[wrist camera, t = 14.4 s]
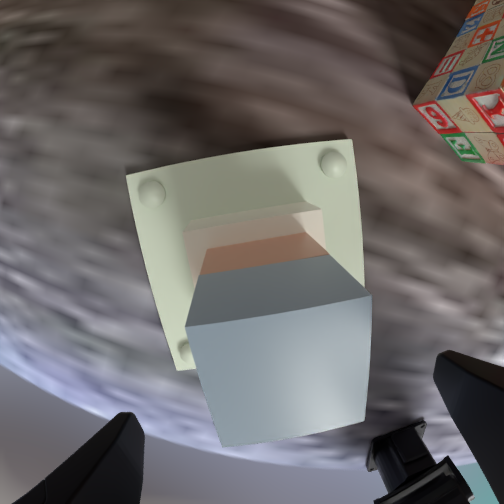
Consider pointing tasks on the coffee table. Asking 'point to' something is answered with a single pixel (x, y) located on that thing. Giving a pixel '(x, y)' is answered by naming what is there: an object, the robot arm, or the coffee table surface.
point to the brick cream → (250, 229)
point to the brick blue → (281, 349)
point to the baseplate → (236, 200)
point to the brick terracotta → (261, 253)
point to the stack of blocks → (471, 88)
